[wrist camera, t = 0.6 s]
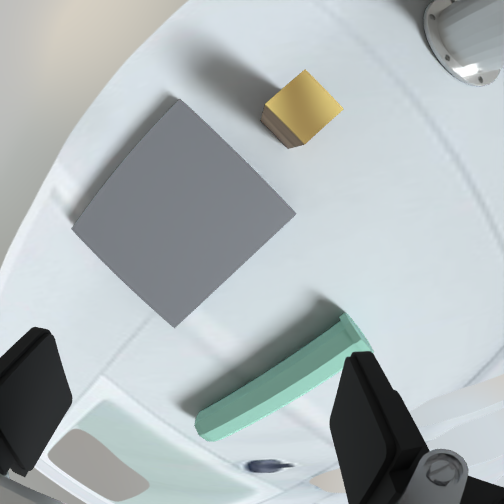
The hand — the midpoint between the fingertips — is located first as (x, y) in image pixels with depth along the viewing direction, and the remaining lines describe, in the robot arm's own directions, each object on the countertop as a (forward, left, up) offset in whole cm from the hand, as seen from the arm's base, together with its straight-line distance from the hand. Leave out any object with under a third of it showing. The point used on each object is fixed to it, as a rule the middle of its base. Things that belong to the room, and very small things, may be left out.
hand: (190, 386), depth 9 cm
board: (+4, -5, -25) cm, 26 cm away
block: (-11, -4, -25) cm, 28 cm away
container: (+11, +17, -26) cm, 33 cm away
